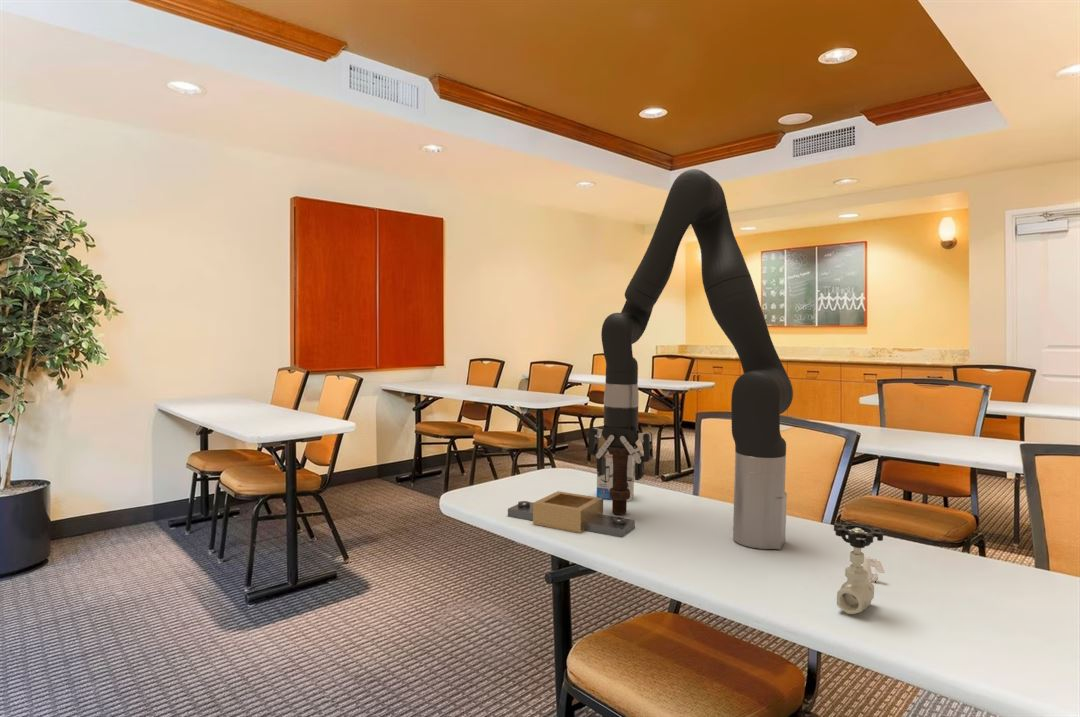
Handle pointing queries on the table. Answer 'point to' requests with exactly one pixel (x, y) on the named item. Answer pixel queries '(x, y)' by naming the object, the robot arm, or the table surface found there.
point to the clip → (874, 563)
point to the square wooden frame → (566, 511)
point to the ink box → (607, 480)
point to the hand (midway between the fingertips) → (619, 477)
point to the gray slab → (522, 510)
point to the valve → (856, 567)
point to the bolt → (619, 480)
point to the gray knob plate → (610, 525)
